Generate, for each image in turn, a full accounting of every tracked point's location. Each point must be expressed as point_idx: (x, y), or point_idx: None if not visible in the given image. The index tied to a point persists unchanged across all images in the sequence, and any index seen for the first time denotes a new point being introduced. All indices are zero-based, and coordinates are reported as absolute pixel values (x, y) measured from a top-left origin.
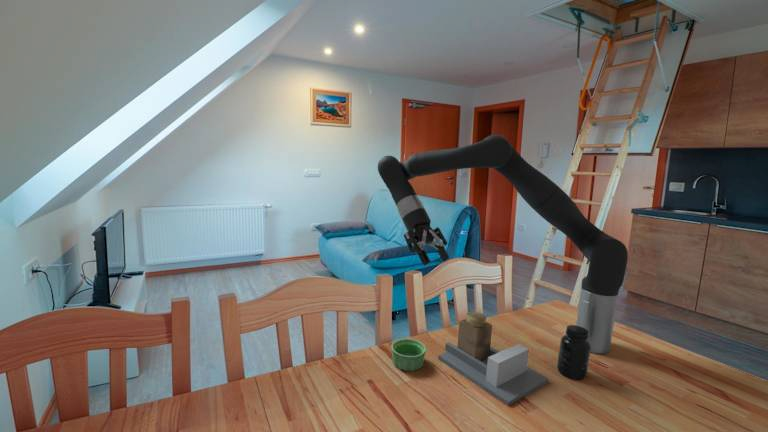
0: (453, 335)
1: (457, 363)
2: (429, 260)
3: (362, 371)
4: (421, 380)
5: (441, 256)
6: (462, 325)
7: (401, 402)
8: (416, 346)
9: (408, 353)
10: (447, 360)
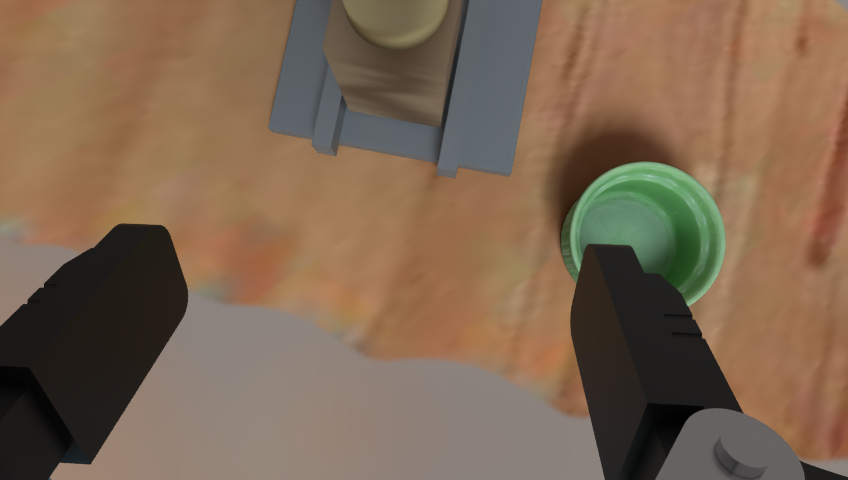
0: (293, 243)
1: (503, 87)
2: (606, 251)
3: (801, 320)
4: (670, 134)
5: (147, 345)
6: (450, 54)
7: (810, 106)
8: (579, 243)
9: None
10: (515, 125)
